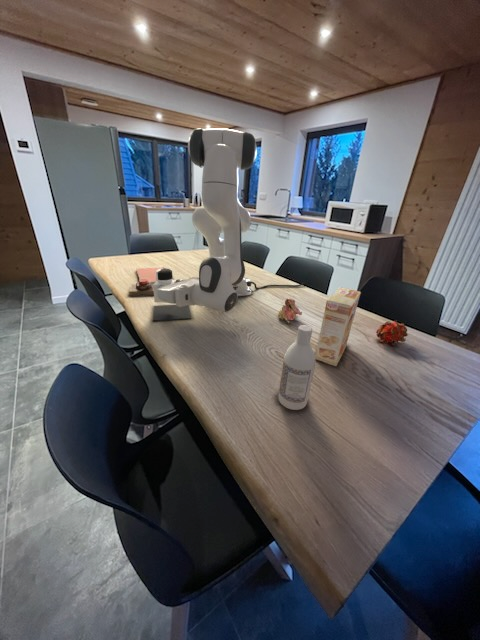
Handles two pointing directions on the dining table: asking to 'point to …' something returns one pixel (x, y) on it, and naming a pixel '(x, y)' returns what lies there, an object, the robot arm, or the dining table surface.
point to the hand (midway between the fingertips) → (168, 284)
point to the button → (143, 282)
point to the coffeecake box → (336, 325)
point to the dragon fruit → (392, 332)
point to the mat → (171, 313)
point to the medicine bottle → (162, 281)
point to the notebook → (148, 274)
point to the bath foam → (297, 371)
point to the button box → (141, 289)
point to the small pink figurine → (289, 310)
